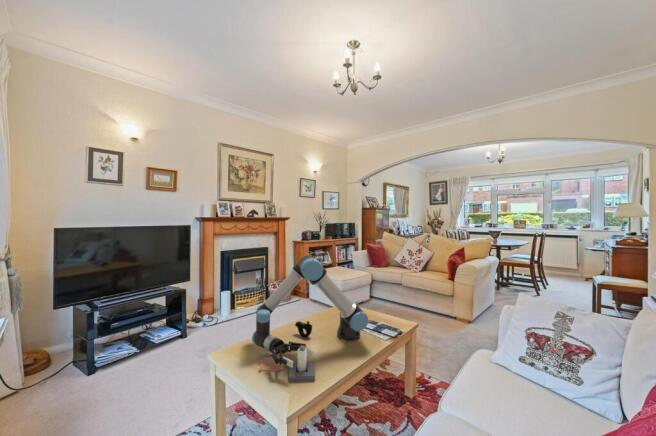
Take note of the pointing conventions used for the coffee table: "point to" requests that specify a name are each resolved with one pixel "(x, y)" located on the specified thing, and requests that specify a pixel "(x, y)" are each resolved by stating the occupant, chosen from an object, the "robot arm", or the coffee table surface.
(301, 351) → the plug
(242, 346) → the coffee table surface
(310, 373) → the socket block
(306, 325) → the controller
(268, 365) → the tile
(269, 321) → the robot arm
